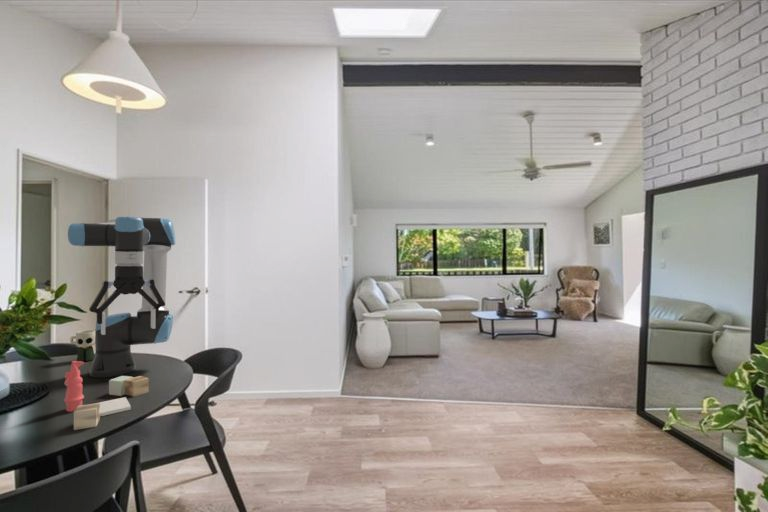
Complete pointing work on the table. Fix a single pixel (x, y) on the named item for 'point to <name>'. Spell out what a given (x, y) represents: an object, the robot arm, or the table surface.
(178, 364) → the table surface
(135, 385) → the oak block
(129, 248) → the robot arm
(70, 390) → the figurine
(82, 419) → the maple block
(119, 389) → the sage block
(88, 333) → the character mug
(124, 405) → the coaster
